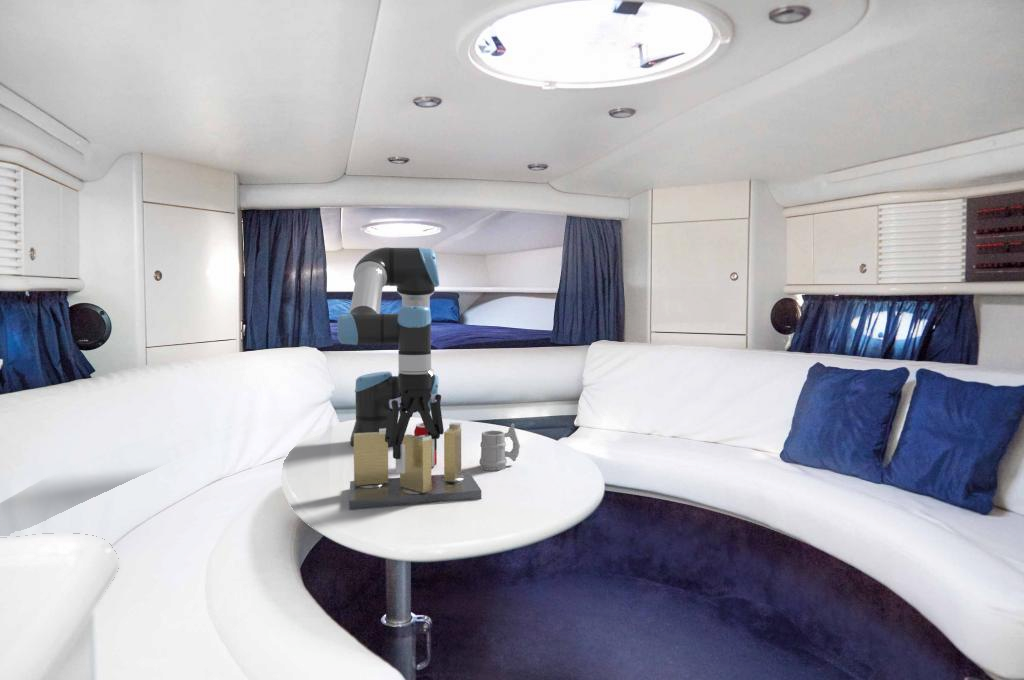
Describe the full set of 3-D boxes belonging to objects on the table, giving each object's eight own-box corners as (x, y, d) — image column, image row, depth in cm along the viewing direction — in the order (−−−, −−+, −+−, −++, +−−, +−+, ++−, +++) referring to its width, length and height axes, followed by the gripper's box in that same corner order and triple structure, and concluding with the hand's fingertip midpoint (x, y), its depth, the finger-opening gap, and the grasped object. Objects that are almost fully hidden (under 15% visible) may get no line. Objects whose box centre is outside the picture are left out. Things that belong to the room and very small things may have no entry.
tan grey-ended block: (399, 486, 138) (399, 432, 137) (408, 483, 140) (408, 431, 139) (423, 492, 133) (422, 437, 132) (431, 489, 135) (431, 435, 134)
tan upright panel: (454, 481, 141) (454, 429, 141) (444, 481, 142) (443, 429, 141) (461, 472, 149) (461, 423, 149) (451, 471, 150) (451, 422, 149)
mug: (475, 465, 165) (475, 423, 164) (514, 461, 169) (514, 420, 169) (484, 472, 158) (484, 429, 157) (524, 468, 162) (524, 425, 162)
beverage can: (432, 470, 160) (432, 427, 159) (411, 469, 161) (410, 426, 160) (439, 464, 166) (439, 423, 165) (419, 463, 167) (418, 422, 166)
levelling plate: (350, 489, 143) (350, 479, 143) (469, 480, 151) (469, 471, 151) (349, 509, 129) (349, 499, 129) (481, 498, 136) (481, 488, 136)
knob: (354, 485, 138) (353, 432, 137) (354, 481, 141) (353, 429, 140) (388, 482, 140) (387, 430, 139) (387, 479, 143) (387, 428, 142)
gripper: (440, 367, 145) (440, 457, 146) (367, 374, 130) (368, 474, 131) (459, 370, 139) (459, 463, 141) (385, 377, 125) (386, 481, 126)
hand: (415, 468), depth 136 cm, fingers open, 8 cm apart
